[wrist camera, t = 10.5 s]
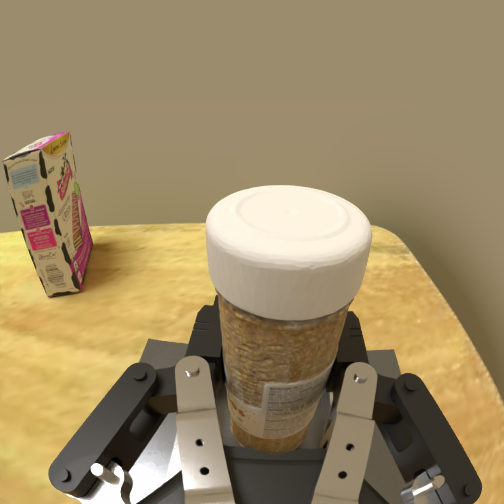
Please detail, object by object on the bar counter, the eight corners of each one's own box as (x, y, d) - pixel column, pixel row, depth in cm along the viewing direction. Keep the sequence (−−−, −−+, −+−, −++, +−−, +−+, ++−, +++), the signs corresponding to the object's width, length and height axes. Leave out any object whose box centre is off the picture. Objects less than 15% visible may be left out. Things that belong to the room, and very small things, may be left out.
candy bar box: (84, 292, 29) (40, 147, 20) (47, 299, 27) (-1, 161, 18) (95, 242, 38) (71, 128, 29) (65, 248, 36) (37, 138, 27)
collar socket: (101, 500, 11) (74, 488, 9) (151, 347, 23) (140, 317, 21) (417, 515, 10) (447, 504, 8) (389, 358, 22) (404, 328, 20)
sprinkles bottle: (223, 403, 16) (196, 187, 9) (293, 388, 17) (327, 177, 10) (240, 468, 13) (218, 270, 5) (319, 447, 14) (410, 240, 6)
